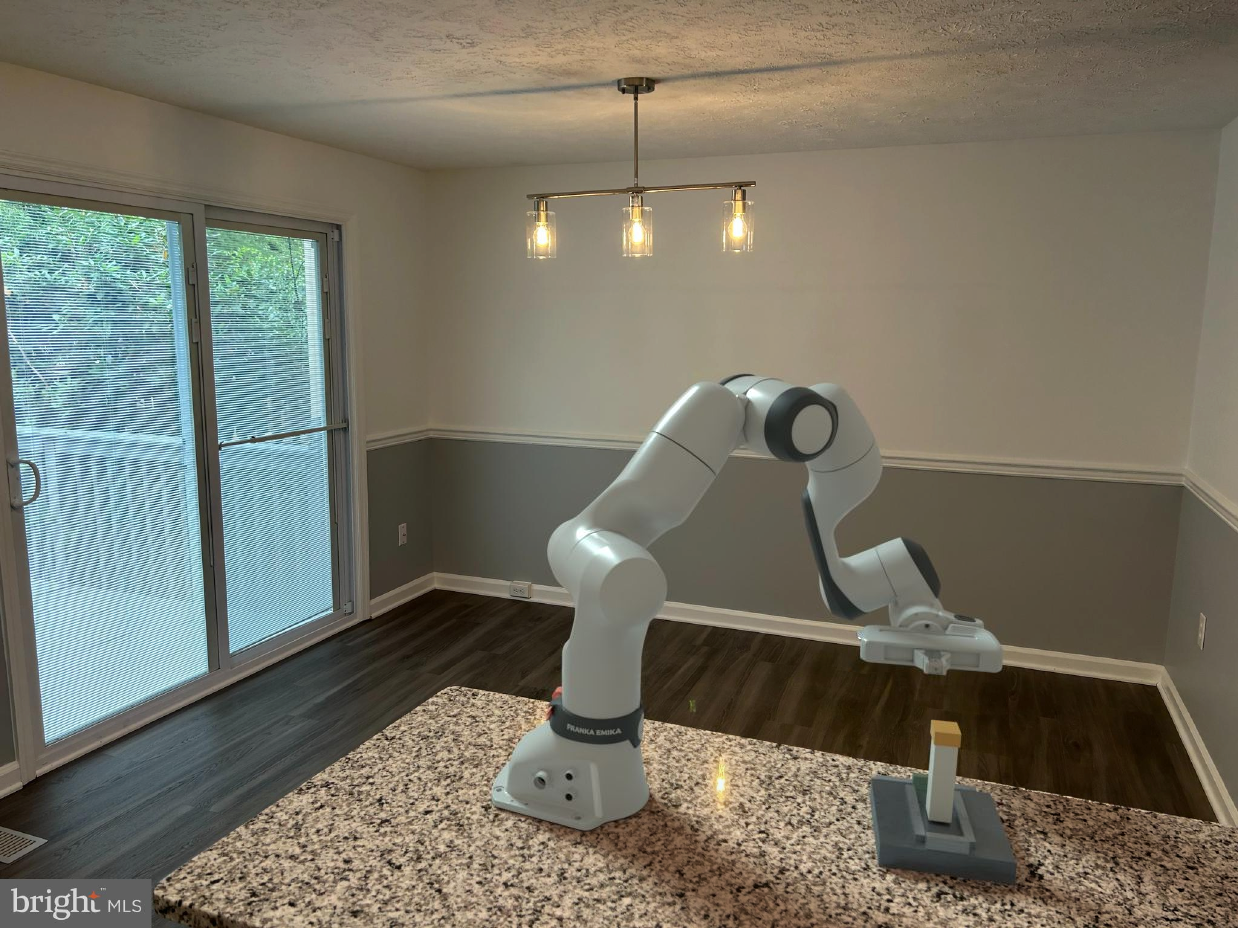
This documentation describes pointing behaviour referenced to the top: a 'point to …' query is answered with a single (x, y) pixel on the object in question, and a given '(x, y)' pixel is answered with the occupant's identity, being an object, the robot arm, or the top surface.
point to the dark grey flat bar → (911, 782)
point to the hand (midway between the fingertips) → (935, 669)
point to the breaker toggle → (942, 770)
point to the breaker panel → (940, 833)
